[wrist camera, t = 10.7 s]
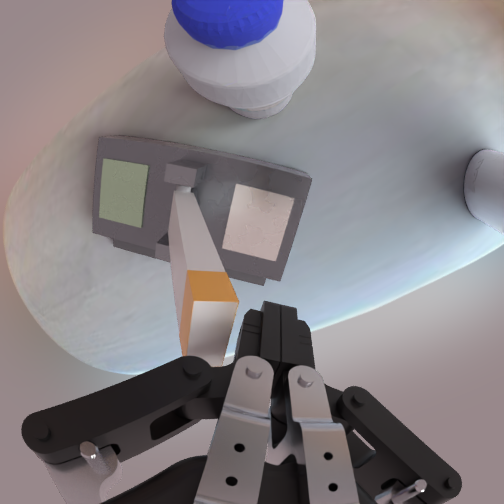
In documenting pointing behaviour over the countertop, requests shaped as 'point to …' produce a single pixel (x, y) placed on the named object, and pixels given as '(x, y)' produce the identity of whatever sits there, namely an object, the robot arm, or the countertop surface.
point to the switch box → (199, 200)
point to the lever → (199, 283)
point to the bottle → (243, 50)
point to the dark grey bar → (151, 253)
